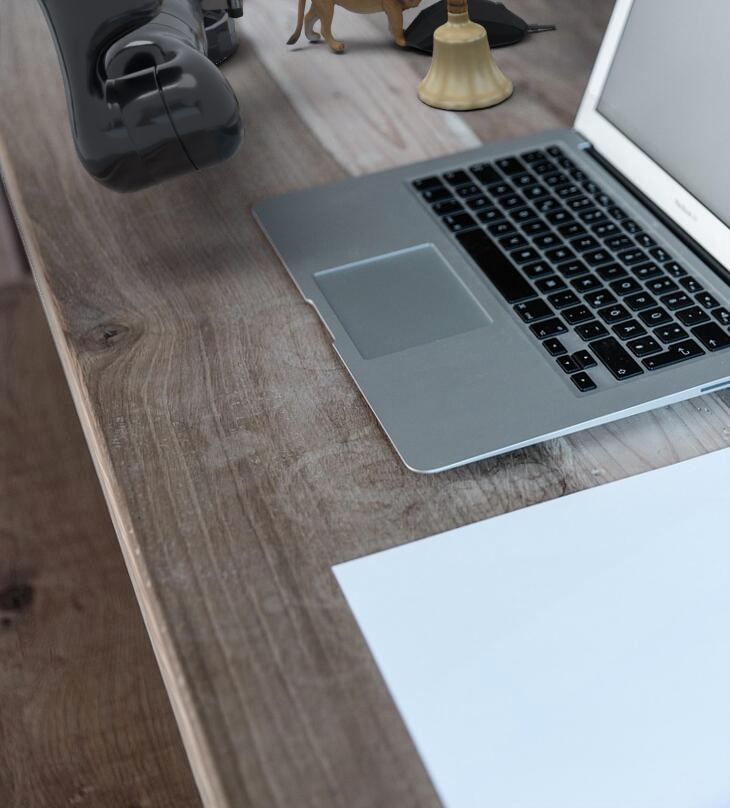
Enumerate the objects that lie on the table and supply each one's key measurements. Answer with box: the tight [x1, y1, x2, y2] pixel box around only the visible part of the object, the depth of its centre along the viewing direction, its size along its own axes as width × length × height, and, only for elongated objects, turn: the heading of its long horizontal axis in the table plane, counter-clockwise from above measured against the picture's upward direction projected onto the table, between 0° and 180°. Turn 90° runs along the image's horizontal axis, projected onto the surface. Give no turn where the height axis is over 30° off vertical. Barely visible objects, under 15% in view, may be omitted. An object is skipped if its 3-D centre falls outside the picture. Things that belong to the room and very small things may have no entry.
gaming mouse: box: [403, 0, 556, 54], centre depth 114 cm, size 6×15×4 cm, turn 111°
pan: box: [203, 9, 239, 65], centre depth 111 cm, size 12×12×4 cm
